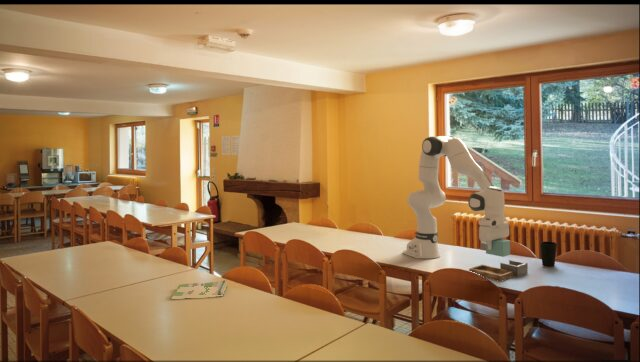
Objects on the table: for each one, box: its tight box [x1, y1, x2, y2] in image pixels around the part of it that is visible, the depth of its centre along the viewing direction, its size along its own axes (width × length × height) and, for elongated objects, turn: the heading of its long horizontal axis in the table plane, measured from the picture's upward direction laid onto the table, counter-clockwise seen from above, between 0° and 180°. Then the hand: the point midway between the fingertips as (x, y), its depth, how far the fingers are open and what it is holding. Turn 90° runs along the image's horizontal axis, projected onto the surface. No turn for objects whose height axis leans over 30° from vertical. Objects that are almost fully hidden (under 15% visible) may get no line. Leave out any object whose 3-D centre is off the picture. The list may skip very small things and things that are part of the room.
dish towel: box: [171, 279, 227, 297], centre depth 197 cm, size 17×23×4 cm
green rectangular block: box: [480, 238, 511, 258], centre depth 206 cm, size 13×6×7 cm, turn 35°
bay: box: [499, 259, 529, 278], centre depth 211 cm, size 9×9×5 cm
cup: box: [540, 241, 558, 268], centre depth 221 cm, size 8×8×12 cm
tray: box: [468, 264, 515, 282], centre depth 209 cm, size 17×11×2 cm, turn 35°
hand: (494, 248), depth 206 cm, fingers closed on green rectangular block, 6 cm apart
